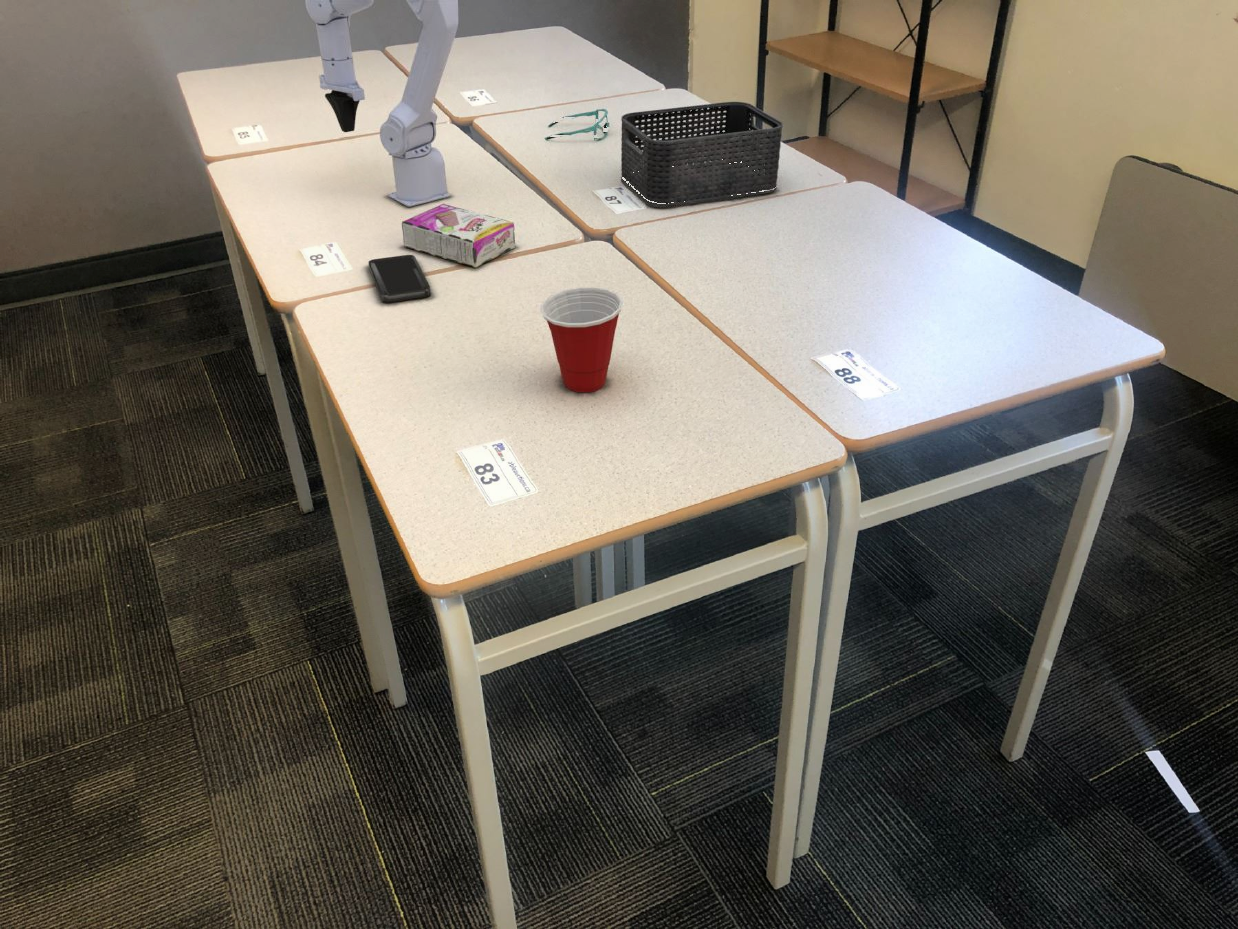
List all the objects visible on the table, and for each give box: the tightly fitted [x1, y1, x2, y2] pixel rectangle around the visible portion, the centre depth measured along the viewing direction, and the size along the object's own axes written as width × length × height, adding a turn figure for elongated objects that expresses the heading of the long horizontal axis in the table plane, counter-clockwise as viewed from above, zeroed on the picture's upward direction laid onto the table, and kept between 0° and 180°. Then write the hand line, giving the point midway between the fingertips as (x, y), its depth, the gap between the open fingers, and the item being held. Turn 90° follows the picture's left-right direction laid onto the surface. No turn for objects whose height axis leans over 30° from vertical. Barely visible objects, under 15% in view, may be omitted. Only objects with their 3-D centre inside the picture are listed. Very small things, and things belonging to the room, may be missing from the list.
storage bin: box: [620, 101, 784, 209], centre depth 190 cm, size 29×19×13 cm
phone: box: [367, 254, 432, 304], centre depth 155 cm, size 8×1×15 cm
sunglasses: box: [544, 108, 610, 141], centre depth 221 cm, size 14×15×5 cm
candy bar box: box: [401, 203, 516, 269], centre depth 165 cm, size 11×5×16 cm
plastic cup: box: [539, 286, 624, 394], centre depth 126 cm, size 11×11×12 cm
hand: (348, 130), depth 187 cm, fingers closed
